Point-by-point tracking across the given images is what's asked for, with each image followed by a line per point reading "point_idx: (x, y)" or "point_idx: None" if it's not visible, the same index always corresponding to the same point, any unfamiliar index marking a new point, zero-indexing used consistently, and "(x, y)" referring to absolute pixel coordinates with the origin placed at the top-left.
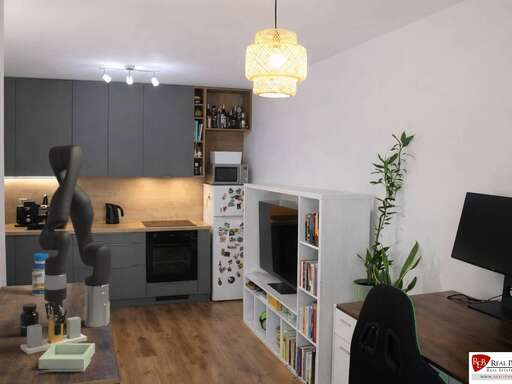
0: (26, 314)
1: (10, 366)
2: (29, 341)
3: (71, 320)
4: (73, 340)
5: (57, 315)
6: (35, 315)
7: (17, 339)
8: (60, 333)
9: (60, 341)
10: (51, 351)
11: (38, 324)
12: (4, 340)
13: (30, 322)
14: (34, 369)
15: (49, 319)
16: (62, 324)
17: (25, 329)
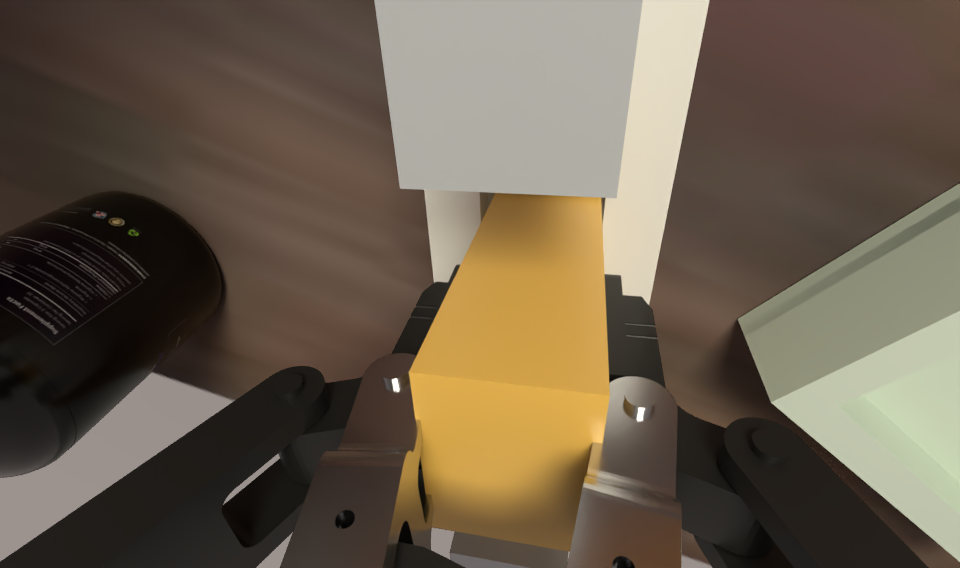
0: (14, 467)
1: (682, 535)
2: None
3: (620, 158)
4: (692, 68)
5: (410, 458)
6: (12, 388)
7: (210, 339)
8: (621, 285)
9: (608, 224)
10: (914, 465)
11: (468, 562)
12: (205, 390)
13: (112, 378)
14: (881, 503)
15: (457, 523)
16: (603, 328)
17: (164, 357)
